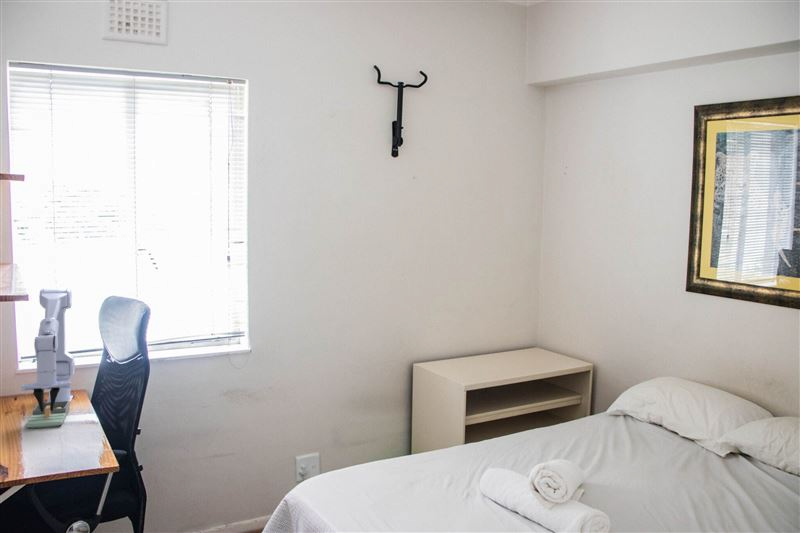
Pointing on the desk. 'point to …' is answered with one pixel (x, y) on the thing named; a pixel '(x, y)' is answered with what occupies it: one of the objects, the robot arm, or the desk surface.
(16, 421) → the desk surface
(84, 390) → the desk surface
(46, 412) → the lid
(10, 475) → the desk surface
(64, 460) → the desk surface
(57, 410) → the tub
